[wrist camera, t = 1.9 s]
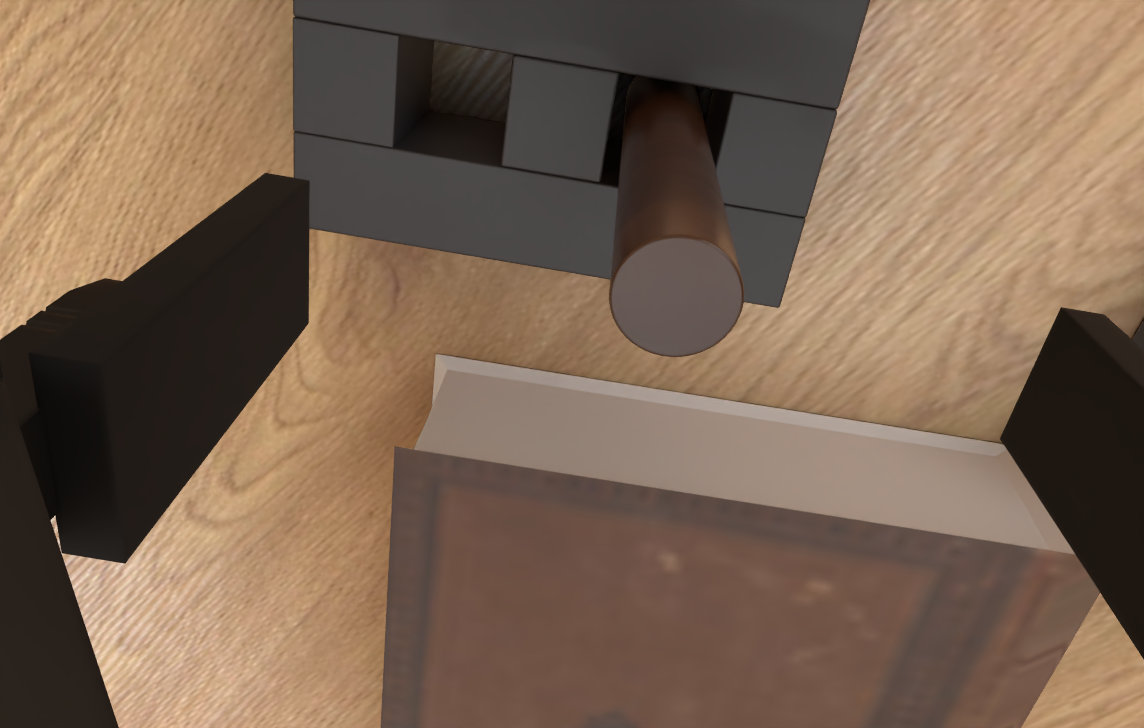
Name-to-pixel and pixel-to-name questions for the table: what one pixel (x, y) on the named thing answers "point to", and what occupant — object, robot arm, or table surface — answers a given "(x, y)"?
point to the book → (710, 566)
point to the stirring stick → (671, 228)
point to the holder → (562, 121)
